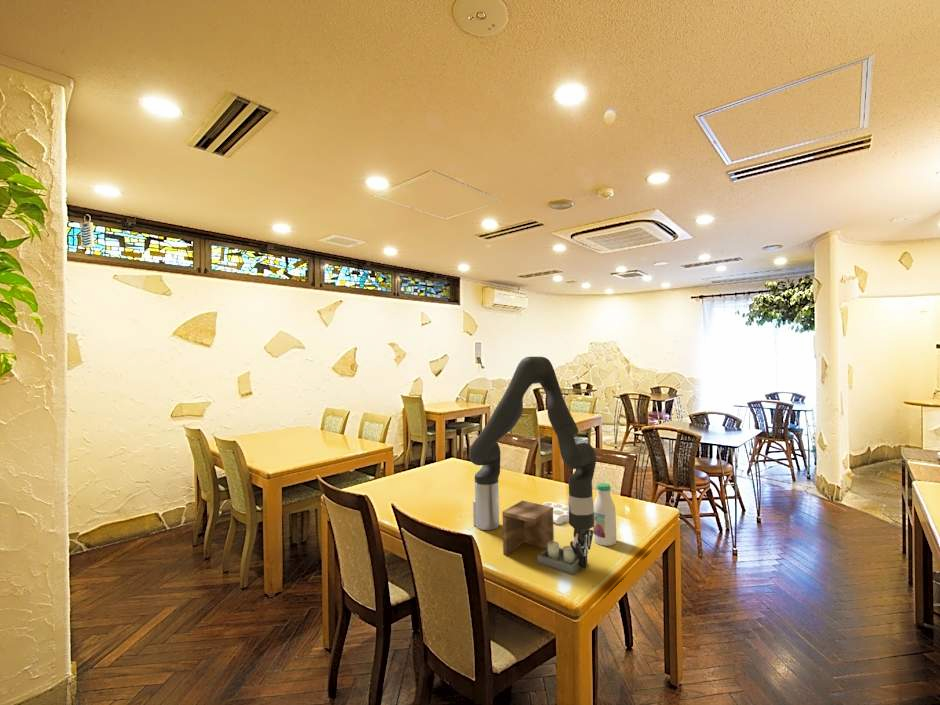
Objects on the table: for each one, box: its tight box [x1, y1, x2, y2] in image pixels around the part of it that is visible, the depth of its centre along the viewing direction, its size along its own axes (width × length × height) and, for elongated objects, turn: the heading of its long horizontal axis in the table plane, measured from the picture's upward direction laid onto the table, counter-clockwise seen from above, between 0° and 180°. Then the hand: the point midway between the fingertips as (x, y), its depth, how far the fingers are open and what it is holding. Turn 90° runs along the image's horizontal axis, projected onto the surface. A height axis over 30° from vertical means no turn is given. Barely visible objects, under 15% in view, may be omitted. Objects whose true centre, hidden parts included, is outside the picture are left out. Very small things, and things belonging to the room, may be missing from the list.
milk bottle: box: [592, 482, 617, 547], centre depth 147 cm, size 8×8×20 cm
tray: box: [536, 547, 582, 576], centre depth 132 cm, size 12×9×3 cm
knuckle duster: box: [541, 501, 569, 525], centre depth 171 cm, size 3×18×15 cm
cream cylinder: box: [547, 540, 560, 561], centre depth 134 cm, size 4×4×5 cm
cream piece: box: [562, 545, 575, 565], centre depth 131 cm, size 4×4×5 cm
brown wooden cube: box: [502, 500, 555, 556], centre depth 141 cm, size 12×13×14 cm
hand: (583, 566), depth 128 cm, fingers closed
